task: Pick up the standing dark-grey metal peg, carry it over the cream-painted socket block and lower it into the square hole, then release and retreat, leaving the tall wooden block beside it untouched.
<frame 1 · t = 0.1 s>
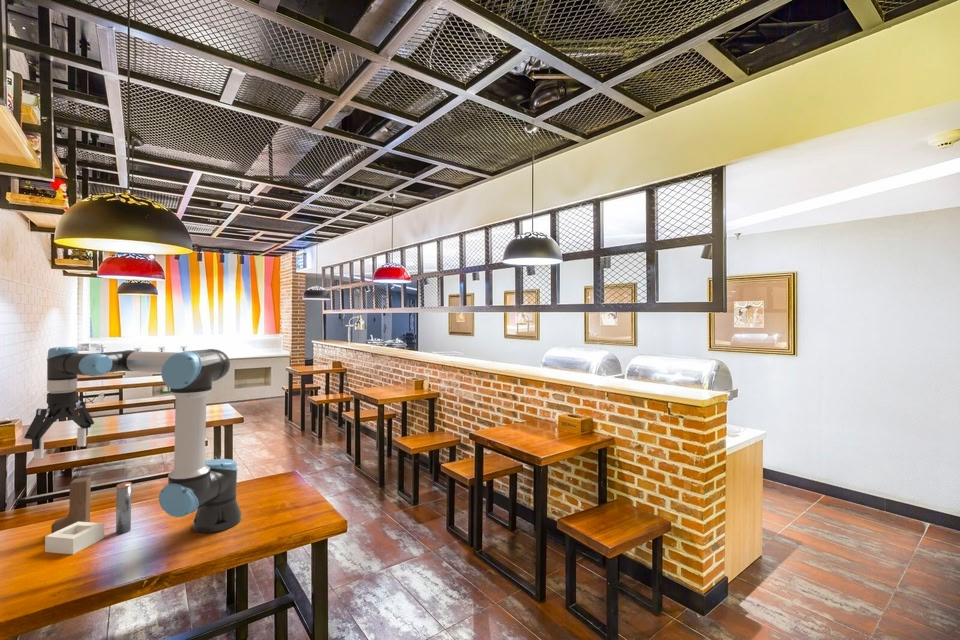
hand: (61, 452, 147), 28 cm above the table, fingers open, 13 cm apart
wooden block: (71, 532, 147), on the table
socket: (75, 544, 139), on the table
peg: (123, 531, 149), on the table
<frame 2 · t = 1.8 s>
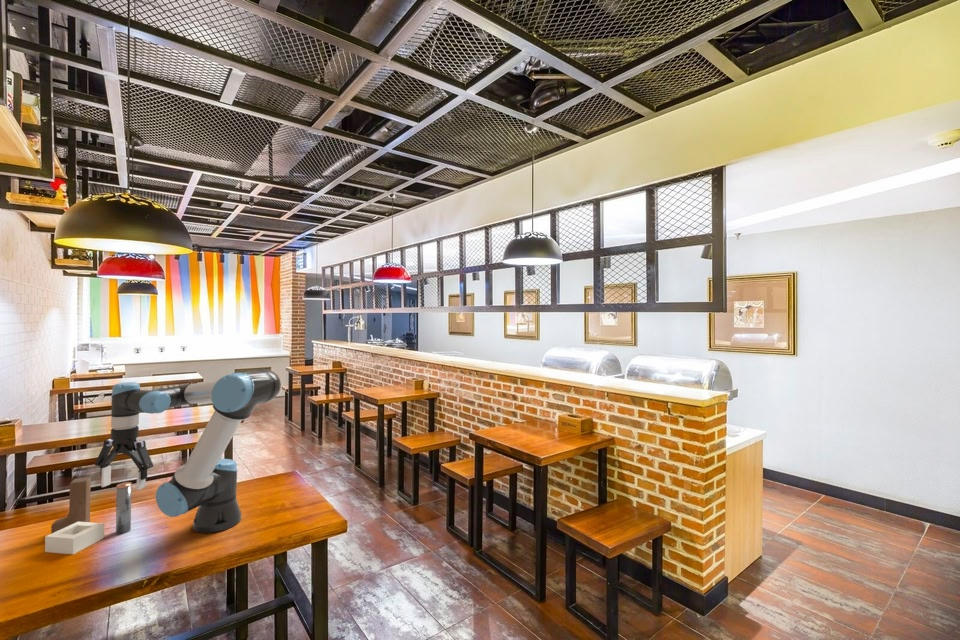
hand: (123, 487, 149), 16 cm above the table, fingers open, 13 cm apart
nothing on the table moved.
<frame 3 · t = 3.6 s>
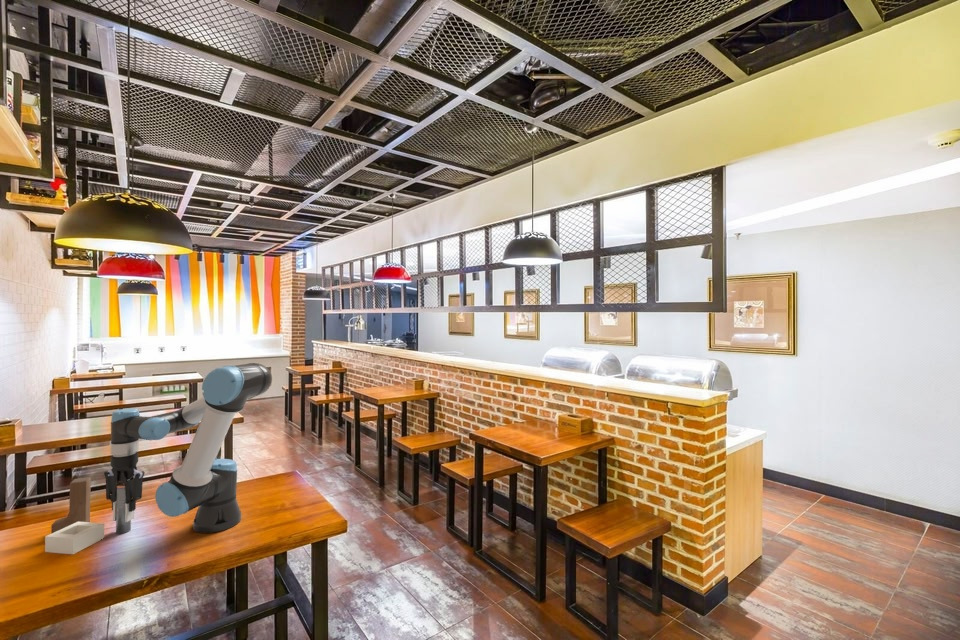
hand: (123, 519, 148), 4 cm above the table, fingers closed on peg, 4 cm apart
peg: (123, 531, 149), on the table, touching gripper
everything else where it was.
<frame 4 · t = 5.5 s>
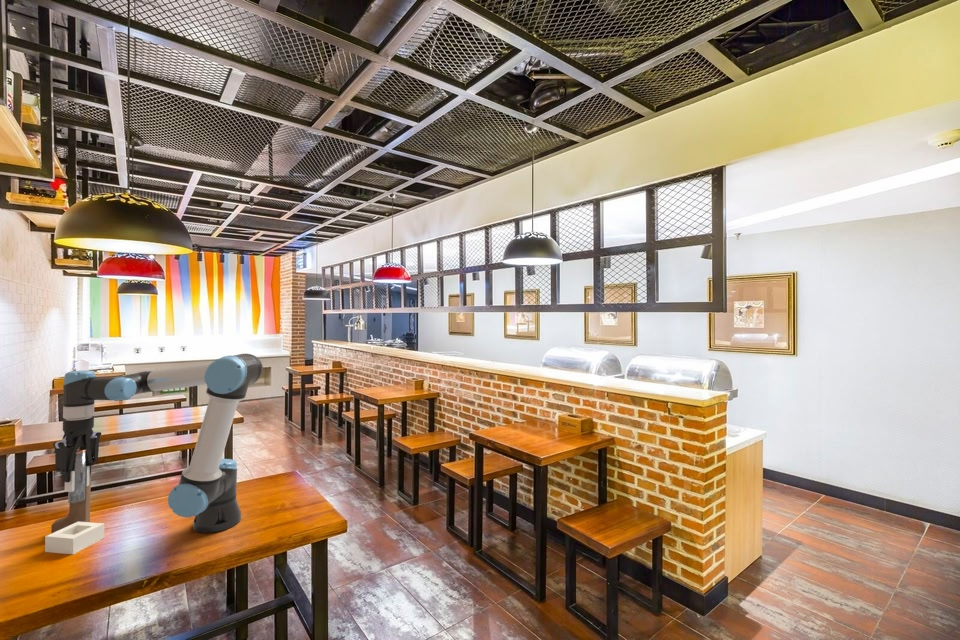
hand: (77, 488, 139), 19 cm above the table, fingers closed on peg, 4 cm apart
peg: (76, 500, 139), point 15 cm above the table, touching gripper
everything else where it was.
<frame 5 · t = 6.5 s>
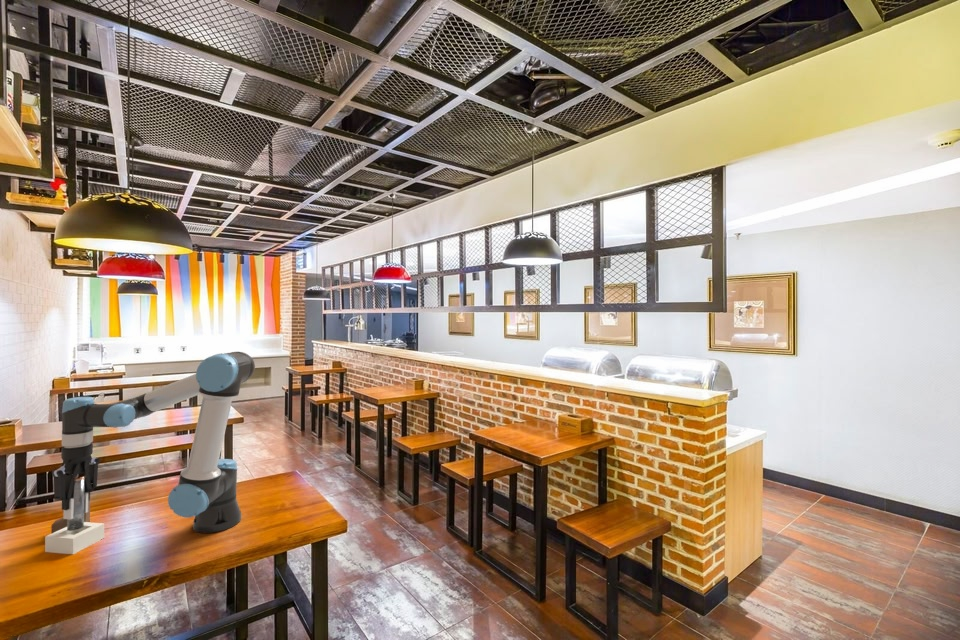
hand: (75, 515, 139), 10 cm above the table, fingers closed on peg, 4 cm apart
peg: (75, 527, 139), point 6 cm above the table, touching gripper
everything else where it was.
when the fingers open (7 cm above the table, at t = 7.4 s): peg drops 2 cm, resting in socket.
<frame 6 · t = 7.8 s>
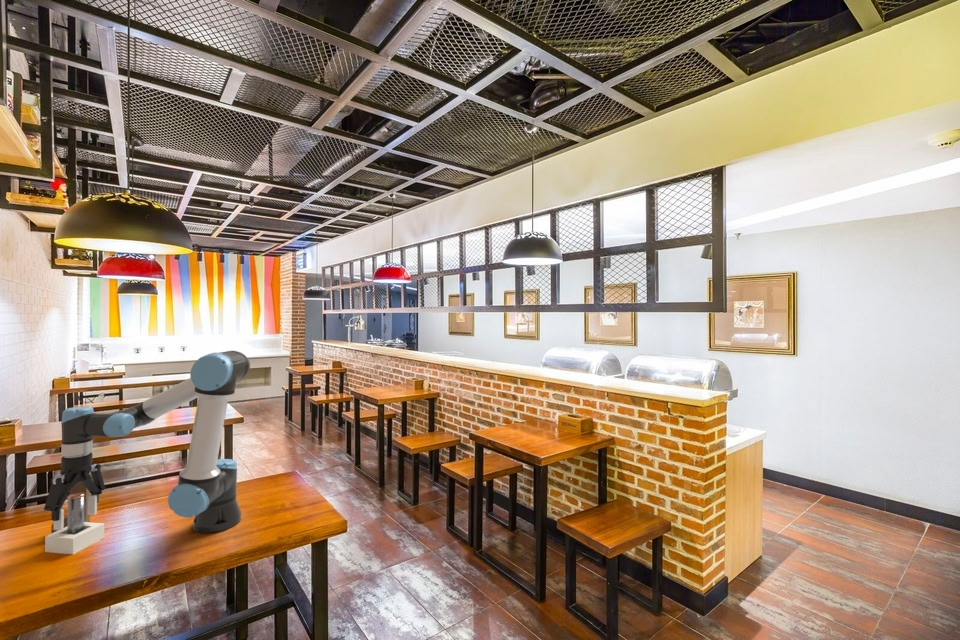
hand: (76, 521, 139), 8 cm above the table, fingers open, 10 cm apart
peg: (75, 544, 139), resting in socket
everything else where it was.
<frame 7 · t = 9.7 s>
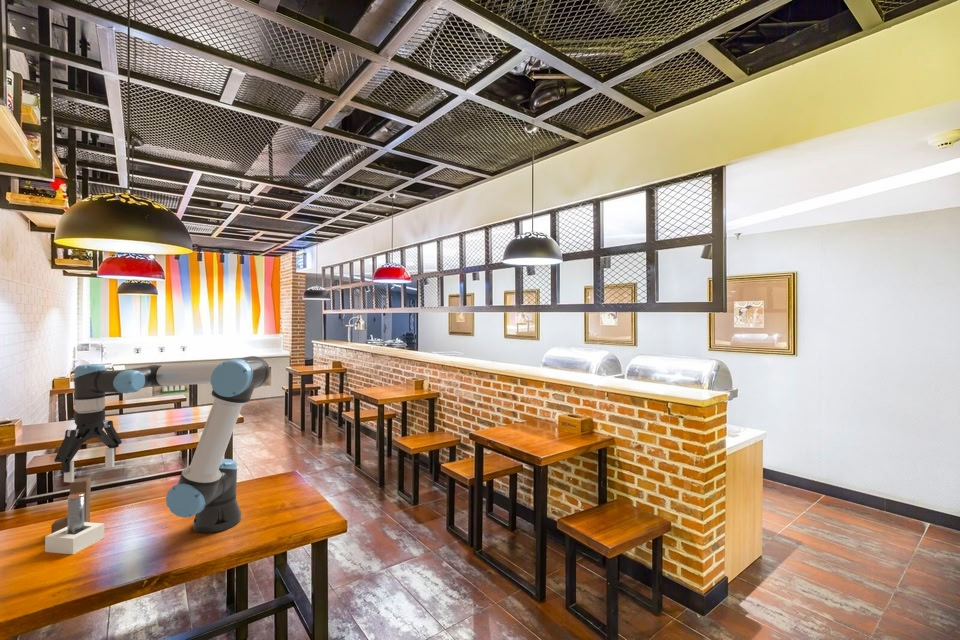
hand: (90, 474, 141), 23 cm above the table, fingers open, 13 cm apart
nothing on the table moved.
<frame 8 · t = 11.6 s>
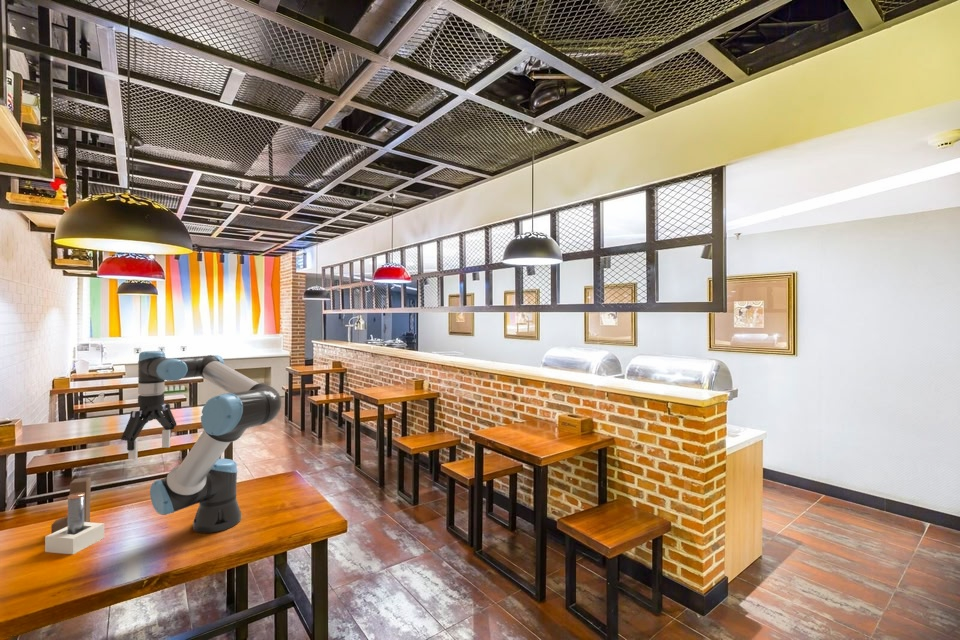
hand: (150, 452, 152), 27 cm above the table, fingers open, 13 cm apart
nothing on the table moved.
at the end: peg 0.0 cm off-centre on the socket, point 0.0 cm above the socket's base; peg tilted 0°; the gripper is holding nothing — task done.
